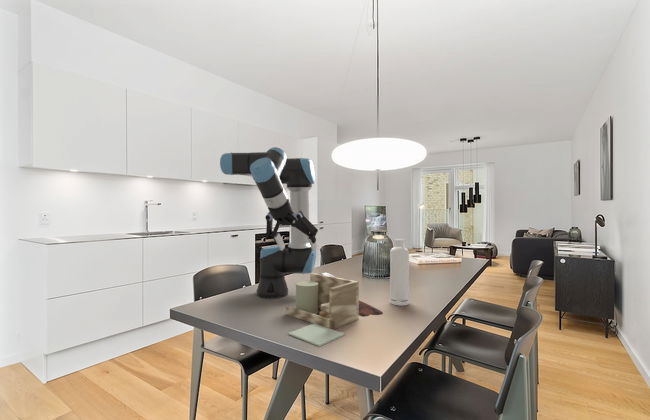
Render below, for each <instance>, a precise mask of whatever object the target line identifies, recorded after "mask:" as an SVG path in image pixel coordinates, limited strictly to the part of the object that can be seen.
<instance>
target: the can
mask: <svg viewBox="0 0 650 420" xmlns="http://www.w3.org/2000/svg"><path fill="white" fill-rule="evenodd" d="M295 308H296V309H299V310H303V311H306V312H309V313H313V314H316V315H318V314H319V309H318V282H315V281H310V280H302V281H297V282H296V283H295Z"/></svg>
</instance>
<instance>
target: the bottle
mask: <svg viewBox="0 0 650 420" xmlns="http://www.w3.org/2000/svg"><path fill="white" fill-rule="evenodd" d="M393 240H394V245H393V247H392V248H390V251H389V256H390V257H389V258H390V259H389V262H390V265H389V266H390V267H389V268H390V269H389V270H390V271H389V275H390V276H389V290H390V291H389V303H390V304H392V305H395V306H400V307H401V306H408V305H409V304H410V299H409V298H410V251H409V249H408V248H407V247H406V245H405V241H406V238H394V239H393Z"/></svg>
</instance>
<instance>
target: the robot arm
mask: <svg viewBox="0 0 650 420" xmlns="http://www.w3.org/2000/svg"><path fill="white" fill-rule="evenodd" d="M219 167H220V170H221V172H222V173H223V174H225V175H229V176H230V175H231V176H233V175H236V176H237V175H239V176H246V177H252V179H253V180H254V182H255V185H256V186H257V189H258V190H259V192H260V195H261V197H262V199H263V201H264V203H265V205H266V207H267V209H268V211H269V212H267V214H266V215H265V221H266V230H265V235H266V236H267V237H269V236H270V237H272V239H273V241H274V243H276V244H277V245H272V246H271V245H270V246H266V247H262V248H261V250H260V257H259V262H260V263H259V270H260V271H259V272H260V273H259V282H258V285H257V289H256V292H255V293H256V296H257V297H258V298H262V299H279V298H284V297H288V295H289V288H288V284H287V281H286V275H285V274H303V275H305V274H308V275H309V274H310V273H313V271H314V269H315V267H316V266H315V265H316V261H317V259H316V258H317V247H318V245H317V237H316V235H317V233H318V231H319V230H318V228H317V227H316V226H314V224H313V223H312V222H311V221H310V203H309V201H310V200H309V198H310V197H309V196H310V195H309V193H310V190H311V189H312V188H313V186H312V185H314V184H315V183H316V172H315V171H316V170H315V167H314V163H313V161H312V160H311V159H310V158H306V157H304V158H303V157H299V158H298V157H295V158H294V157H293V158H287V154H286V152H285V151H284V150H283V149H282V148H280V147H278V146H277V147H274V146H273V147H271V148H269V149H268V150H267V151H266V152H265V151H264V152H263V151H262V152H259V151H258V152H225V153H223V154H221V156H220V159H219ZM284 184H285V185H286V189H287V190H288V191H289V194H290V197H288V195H287V192H286V189H285V188H284ZM289 198H290V199H289ZM273 220H274V221H275V222H276V223H275V224H274V225H275V226H274V228H273V223H274V222H273ZM281 225H282V226H283V227H284V226H290V238H291V239H290V243H289V244H288V245H287V248H286V245H285V242H284V240H283V239H282V238H283V237H282V236H281V234H280V232H278V230H279V228H280V226H281Z"/></svg>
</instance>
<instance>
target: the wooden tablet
mask: <svg viewBox="0 0 650 420" xmlns="http://www.w3.org/2000/svg"><path fill="white" fill-rule="evenodd" d="M383 314H384V313H383V311H382V310H380V309H378V308H376V307H374V306H372V305H369V304H368V303H366V302H364V301H361V300H359V315H360V316H361V317H368V316H370V315H371V316H377V315H383Z"/></svg>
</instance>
